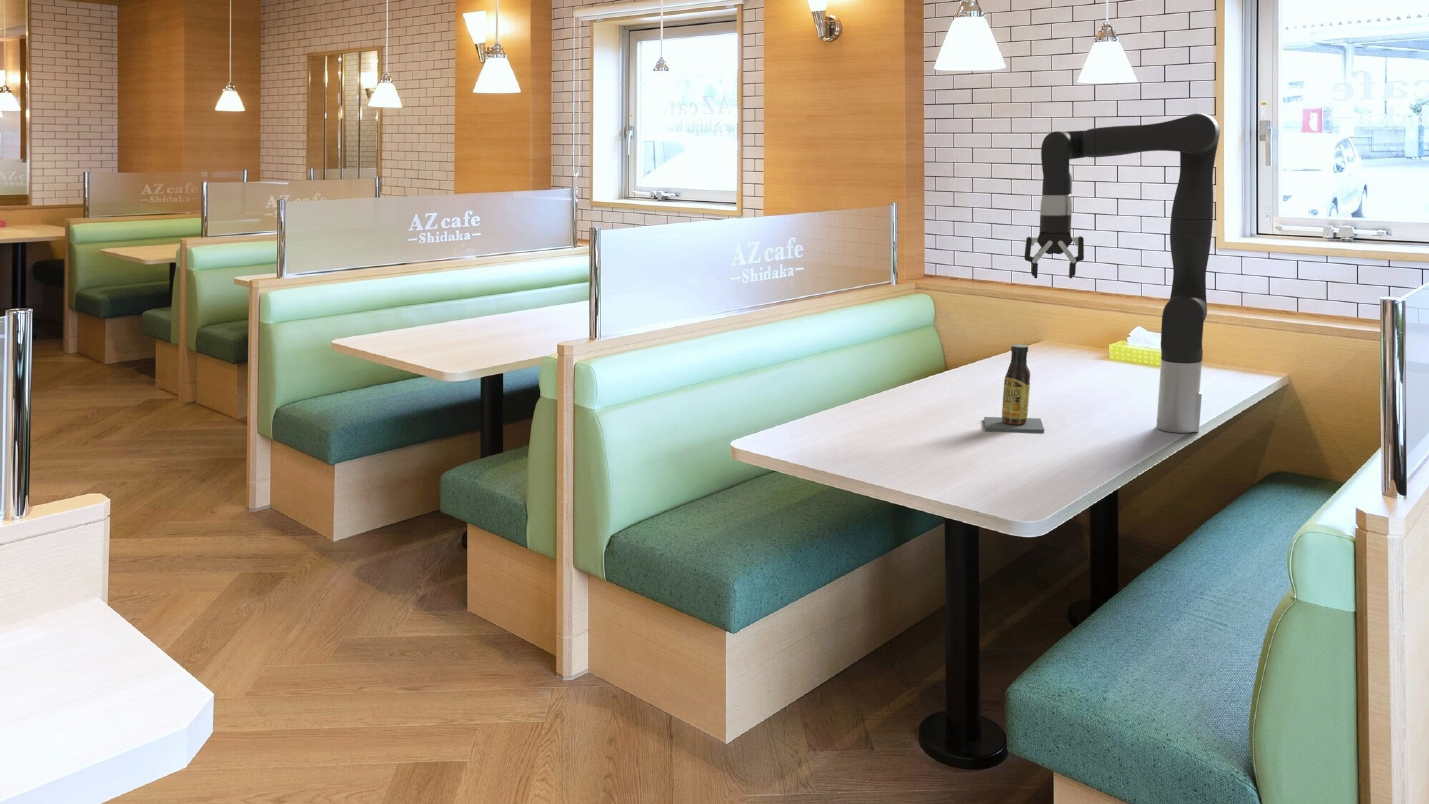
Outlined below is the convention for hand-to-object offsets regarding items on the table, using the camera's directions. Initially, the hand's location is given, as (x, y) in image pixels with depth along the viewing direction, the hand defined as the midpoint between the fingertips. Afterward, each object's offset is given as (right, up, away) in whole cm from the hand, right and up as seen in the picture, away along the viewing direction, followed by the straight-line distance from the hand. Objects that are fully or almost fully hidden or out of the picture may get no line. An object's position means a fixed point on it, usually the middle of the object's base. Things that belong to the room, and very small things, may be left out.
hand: (1052, 278), depth 278 cm
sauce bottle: (-10, -37, -2) cm, 38 cm away
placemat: (-11, -38, -2) cm, 39 cm away
